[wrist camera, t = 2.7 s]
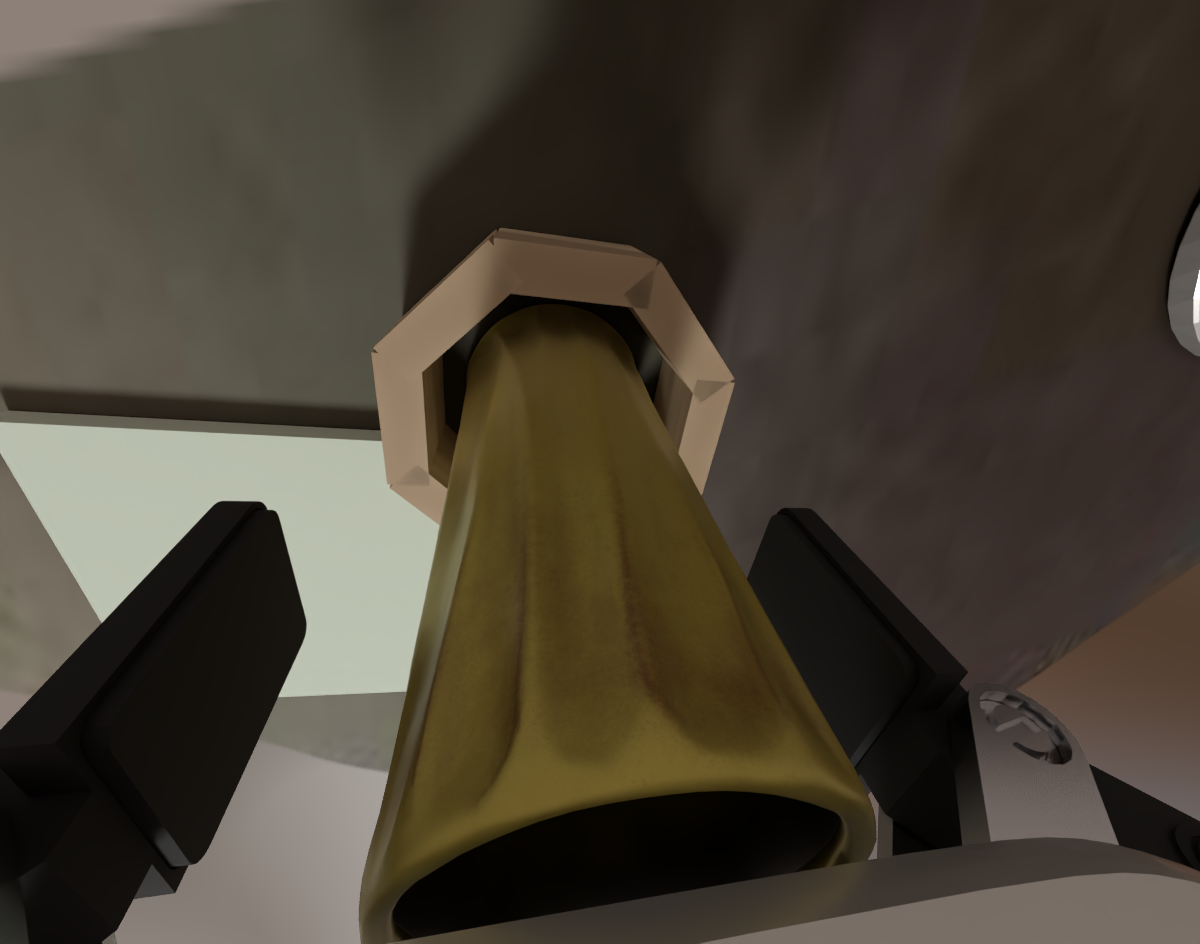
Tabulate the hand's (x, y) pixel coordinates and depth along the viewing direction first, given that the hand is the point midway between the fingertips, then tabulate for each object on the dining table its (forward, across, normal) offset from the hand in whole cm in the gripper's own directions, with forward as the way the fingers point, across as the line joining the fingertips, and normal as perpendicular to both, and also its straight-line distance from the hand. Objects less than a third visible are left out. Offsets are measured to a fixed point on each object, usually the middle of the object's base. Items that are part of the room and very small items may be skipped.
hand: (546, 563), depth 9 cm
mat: (+9, +9, +9) cm, 16 cm away
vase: (+9, -1, 0) cm, 9 cm away
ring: (+9, -1, 0) cm, 9 cm away
